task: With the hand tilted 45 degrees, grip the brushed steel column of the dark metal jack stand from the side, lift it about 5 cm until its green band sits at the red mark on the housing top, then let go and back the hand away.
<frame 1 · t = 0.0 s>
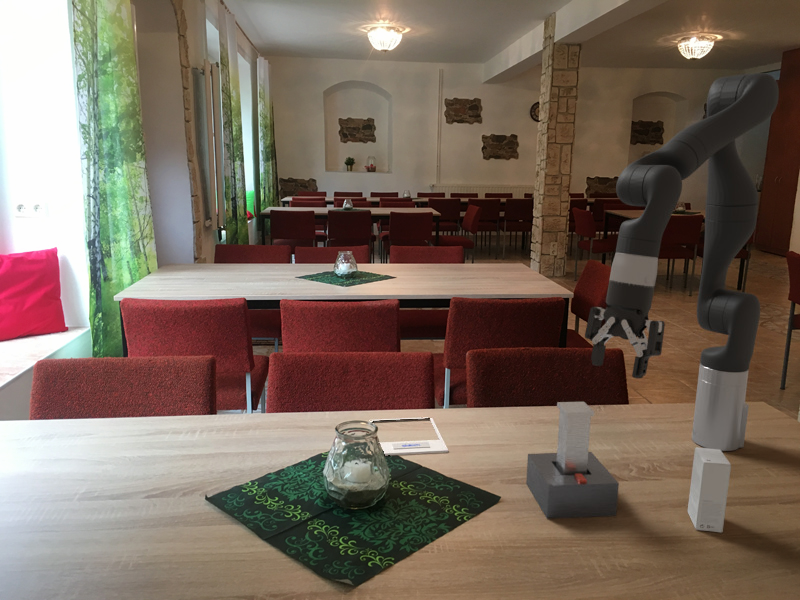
hand: (616, 371, 113), 22 cm above the table, tool pointing down, fingers open, 8 cm apart
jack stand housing: (569, 499, 113), on the table
skincare box: (704, 523, 106), on the table
photo frame: (406, 438, 139), on the table
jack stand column: (572, 452, 111), point 9 cm above the table, slide at 0.0 cm
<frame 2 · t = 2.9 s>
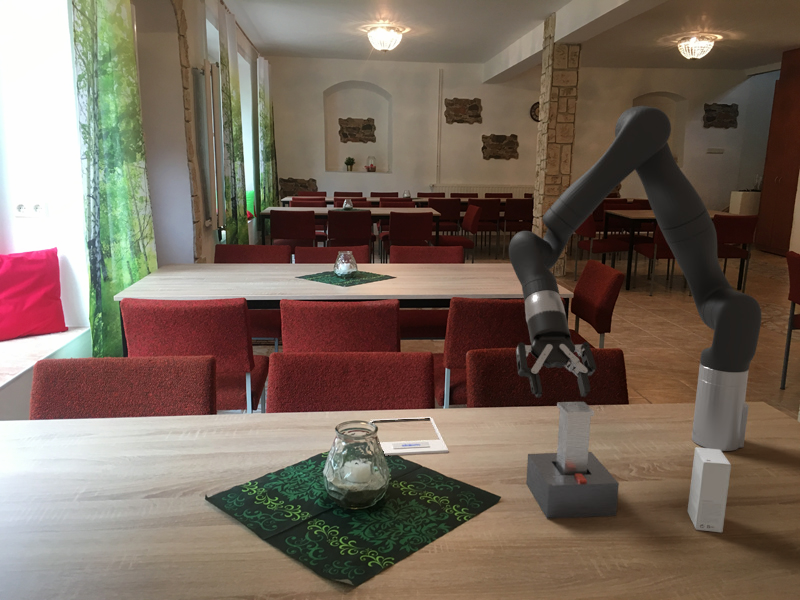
hand: (562, 395, 116), 17 cm above the table, tool tilted 45°, fingers open, 8 cm apart
nothing on the table moved.
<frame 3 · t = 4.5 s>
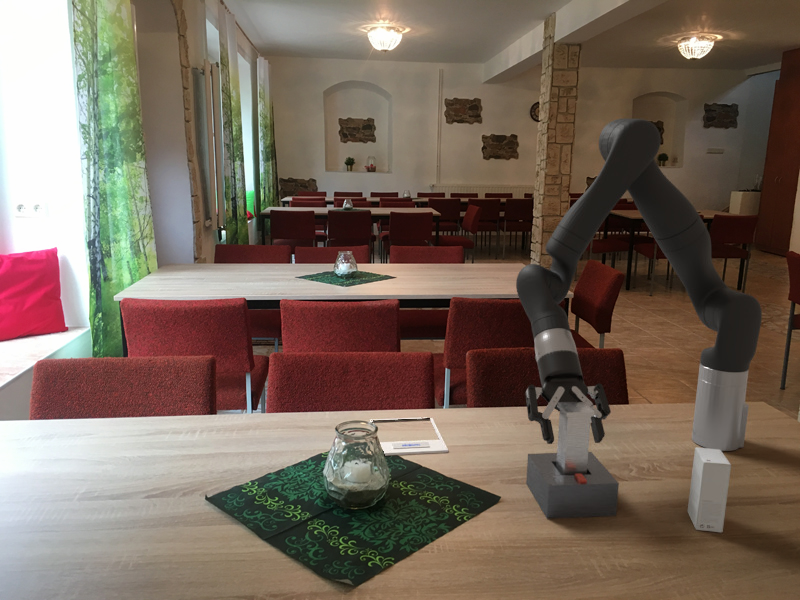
hand: (575, 441, 110), 11 cm above the table, tool tilted 45°, fingers open, 8 cm apart
nothing on the table moved.
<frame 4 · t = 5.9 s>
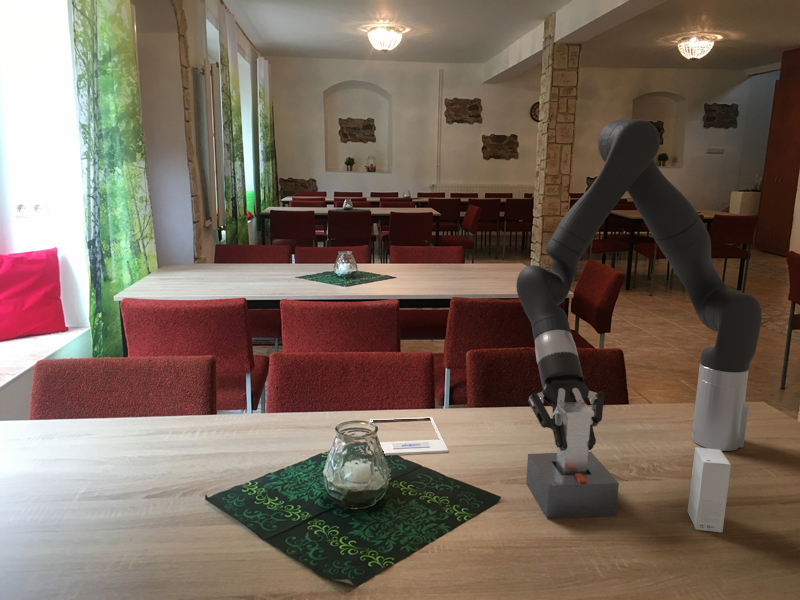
hand: (577, 448, 109), 11 cm above the table, tool tilted 45°, fingers closed on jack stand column, 4 cm apart
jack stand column: (572, 453, 111), point 9 cm above the table, slide at 0.0 cm, touching gripper
everything else where it was.
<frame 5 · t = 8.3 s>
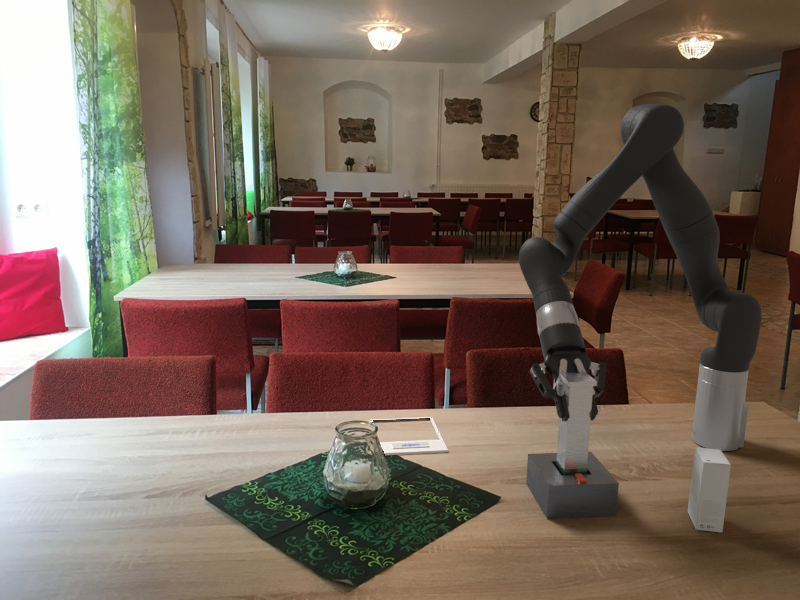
hand: (579, 418, 108), 16 cm above the table, tool tilted 45°, fingers closed on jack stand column, 4 cm apart
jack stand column: (574, 423, 110), point 14 cm above the table, slide at 5.4 cm, touching gripper
everything else where it was.
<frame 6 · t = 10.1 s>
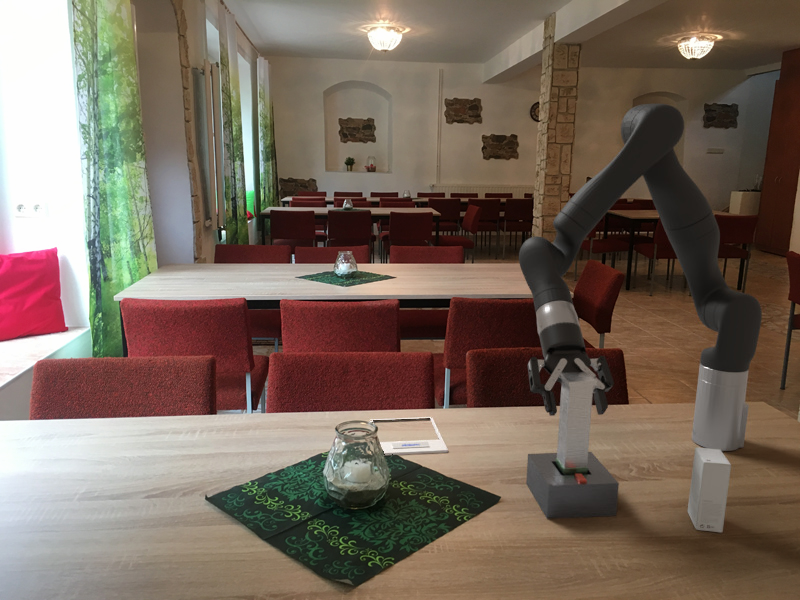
hand: (578, 413, 108), 17 cm above the table, tool tilted 45°, fingers open, 8 cm apart
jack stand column: (574, 423, 110), point 14 cm above the table, slide at 5.4 cm
everything else where it was.
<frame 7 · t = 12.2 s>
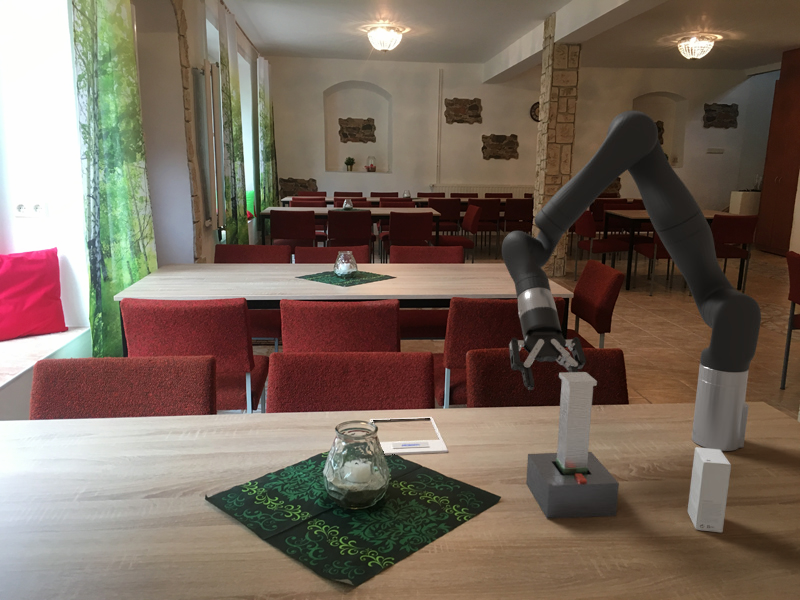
hand: (553, 387, 121), 17 cm above the table, tool tilted 45°, fingers open, 8 cm apart
nothing on the table moved.
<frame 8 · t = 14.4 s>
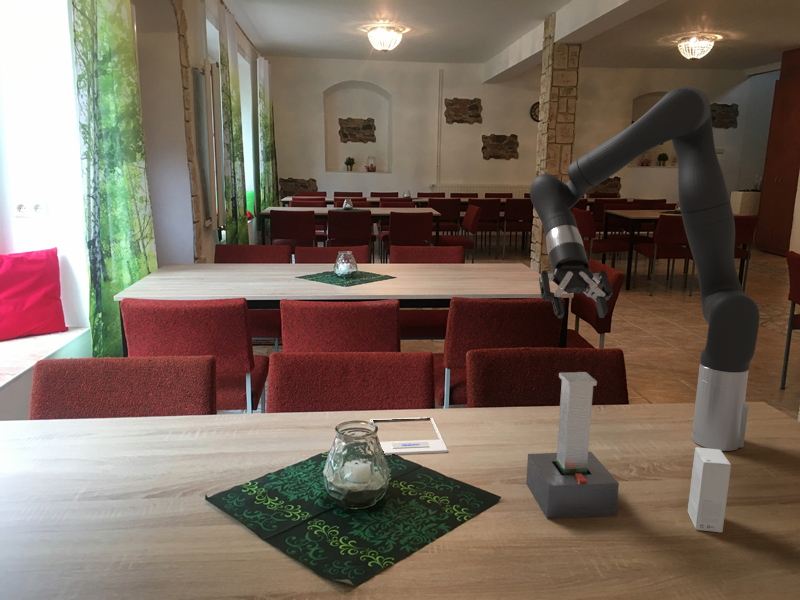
hand: (582, 316, 127), 29 cm above the table, tool tilted 45°, fingers open, 8 cm apart
nothing on the table moved.
at the end: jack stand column slide at 5.4 cm; the gripper is holding nothing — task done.
